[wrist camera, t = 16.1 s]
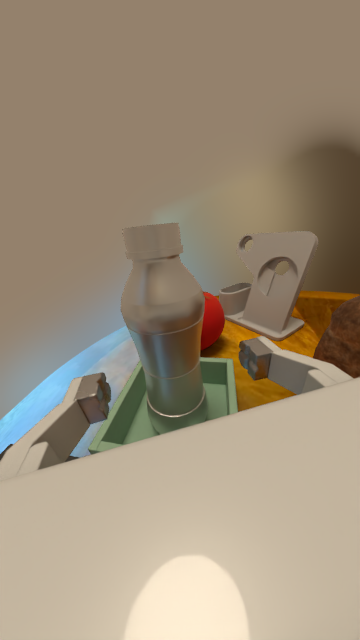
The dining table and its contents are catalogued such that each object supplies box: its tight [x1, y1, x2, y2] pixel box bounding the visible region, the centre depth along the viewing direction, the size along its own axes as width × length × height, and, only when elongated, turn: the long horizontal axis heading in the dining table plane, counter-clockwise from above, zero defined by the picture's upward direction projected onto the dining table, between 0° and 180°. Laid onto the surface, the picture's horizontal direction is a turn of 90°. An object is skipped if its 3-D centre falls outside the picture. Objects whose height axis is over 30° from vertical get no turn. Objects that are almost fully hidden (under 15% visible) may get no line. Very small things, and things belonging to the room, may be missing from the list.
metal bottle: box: [121, 223, 208, 434], centre depth 16 cm, size 6×7×20 cm
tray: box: [88, 357, 238, 455], centre depth 20 cm, size 13×13×5 cm
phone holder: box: [219, 231, 318, 341], centre depth 38 cm, size 17×10×18 cm, turn 33°
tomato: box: [200, 292, 225, 351], centre depth 32 cm, size 10×11×11 cm
